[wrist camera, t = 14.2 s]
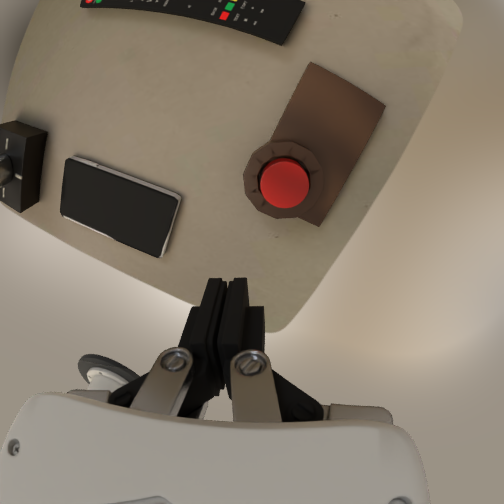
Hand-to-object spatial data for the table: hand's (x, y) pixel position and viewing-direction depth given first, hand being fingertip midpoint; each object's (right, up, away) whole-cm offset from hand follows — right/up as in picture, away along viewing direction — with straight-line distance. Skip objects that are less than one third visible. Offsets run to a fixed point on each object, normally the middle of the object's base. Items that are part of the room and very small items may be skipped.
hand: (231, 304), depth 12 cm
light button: (+4, +9, +11) cm, 14 cm away
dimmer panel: (-30, +15, +13) cm, 36 cm away
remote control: (-6, +28, +4) cm, 29 cm away
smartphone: (-15, +8, +16) cm, 23 cm away
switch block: (+7, +12, +12) cm, 18 cm away
